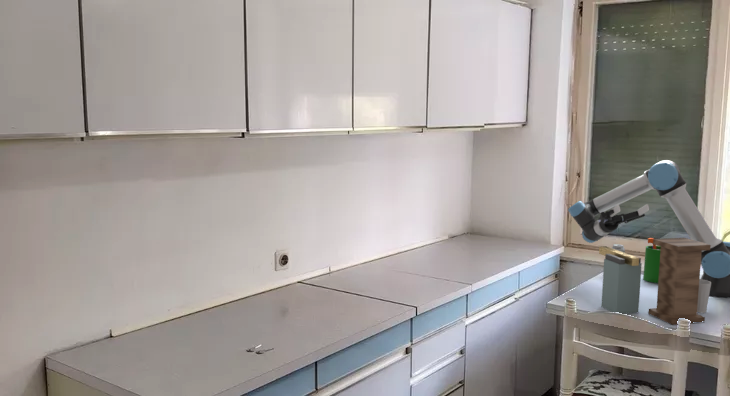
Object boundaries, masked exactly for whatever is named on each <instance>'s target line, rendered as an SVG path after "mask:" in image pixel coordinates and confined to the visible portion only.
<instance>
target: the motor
mask: <svg viewBox="0 0 730 396" xmlns="http://www.w3.org/2000/svg"><path fill="white" fill-rule="evenodd" d="M653 239H654V238H653V237H649V238H648V237H647V243H648V244H652V245H646V246H645V251H644V264H643V278H642V279H643V280H644V281H645V282H647V283H653V284H658V279H659V265H660V250H661V246H657V245H654V244H653Z"/></svg>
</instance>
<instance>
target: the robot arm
mask: <svg viewBox="0 0 730 396" xmlns="http://www.w3.org/2000/svg"><path fill="white" fill-rule="evenodd" d="M681 172H682V171H681V168H680V167H679V165H678V164H677V163H676V162H675V161H672V160H668V159H663V160H660V161H658V162H656V163H654V164H653V165H652V166H650V168H649V169H647V170H644V172H643V174H642V175H639V176H637V177H635V178H633V179H631V180H629V181H627V182H625V183H623V184H620V185H619V186H617V187H615V188H613V189H611V190H609V191H607V192H605V193H603V194H601V195H599V196H596V197H595V198H593V199H591V200H588V201H586V202H583V201H581V200H579V201H577V202H575V203H574V204H573V205H571V206H569V208H568V209H567V211H568V212H569V214H570V216H571V217H572V218H573V219H574V221H575V222H576V223H577V224H578V226H579V227H580V228H581V230H582V232H581V237H582V239H583V240H584V241H585V242H587V243H589V244H593V243H596V242H598V241H599V240H601V239H602V238H604V237H607V235H609V234H610V233H613V231H615V230H617V228H618V227H619V225H621V224H623V223H624V224H628V223H630V222H633V221H636V220H638V219H641V218H644V217H646V213H648V211H650V207H649V203H646V204H644V205H642V206H640V207H639V208H638V209H637V210H635V211H632V212H629V213H621V214H619V213H620V212H621V207H620V205H622V204H623V203H626V202H627V201H630V200H632V199H634V198H636V197H638V196H640V195H642V194H645V193H647V192H649V191H651V190H653V191H656V192H657V194H658V195H659V196H660V198H662V199H665V200H666V201H667V203H668V205H669V206H670V208H671V209H672V211H673V212H674V214H675V216H676V217H677V219H678V221H679V223H680V224H681V226H682V227H683V229H684V230H685V232H686V234H687V236H689V239H691V240H695V241H698V242H702V243H706V244H709V245H711V247H710V250H703V251H702V253H701V268H702V270H703V271H702V275H701V277H700V279H703V280H707V281H710V282H711V287H710V293H709V296H712V297H719V298H730V241H723V239H719V238H717V237H716V236H715V233H713V231H712V229H711V228H710V226H709V224H708V223H707V221H706V220H705V218H704V216H703V215H702V213H701V212H700V210H699V209H698V206H696V203H695V202H694V200H693V199H692V197H691V196H690V194H689V192H688V191H687V190H686V189H687V188H686V187H687V182H686V180H685V178H684V177H683V175H682V173H681ZM598 215H599V217H598V219H596V218H595V217H596V216H598Z"/></svg>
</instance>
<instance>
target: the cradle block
mask: <svg viewBox="0 0 730 396" xmlns="http://www.w3.org/2000/svg"><path fill="white" fill-rule="evenodd" d="M625 253H626V254H629V253H627V252H625ZM629 255H631V254H629ZM638 258H639V266H631V265H628V264H625V259H623V258H620V257H617V256H615V255H612V254H605V258H604V259H603V271H602V274H603V275H602V290H601V291H602V292H601V306H600V307H601V308H603V309H605V310H607V311H609V312H611V313H613V312H619V313H625V314H637V312H638V313H639V310H640V309H639V307H640V295H641V294H640V293H641V292H640V291H641V279H642V277H641V276H642V264H643V263H641V262H642V261H641V260H642V259H641V257H638Z"/></svg>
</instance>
